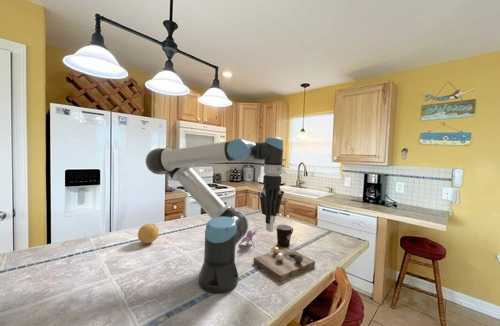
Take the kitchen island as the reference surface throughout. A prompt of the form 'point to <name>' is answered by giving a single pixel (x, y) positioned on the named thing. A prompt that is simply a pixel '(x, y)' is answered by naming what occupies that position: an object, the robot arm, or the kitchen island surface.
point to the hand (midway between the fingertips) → (269, 230)
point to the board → (283, 264)
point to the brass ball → (276, 250)
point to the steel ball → (280, 257)
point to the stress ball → (148, 233)
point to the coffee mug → (284, 235)
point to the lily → (249, 237)
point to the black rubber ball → (298, 259)
